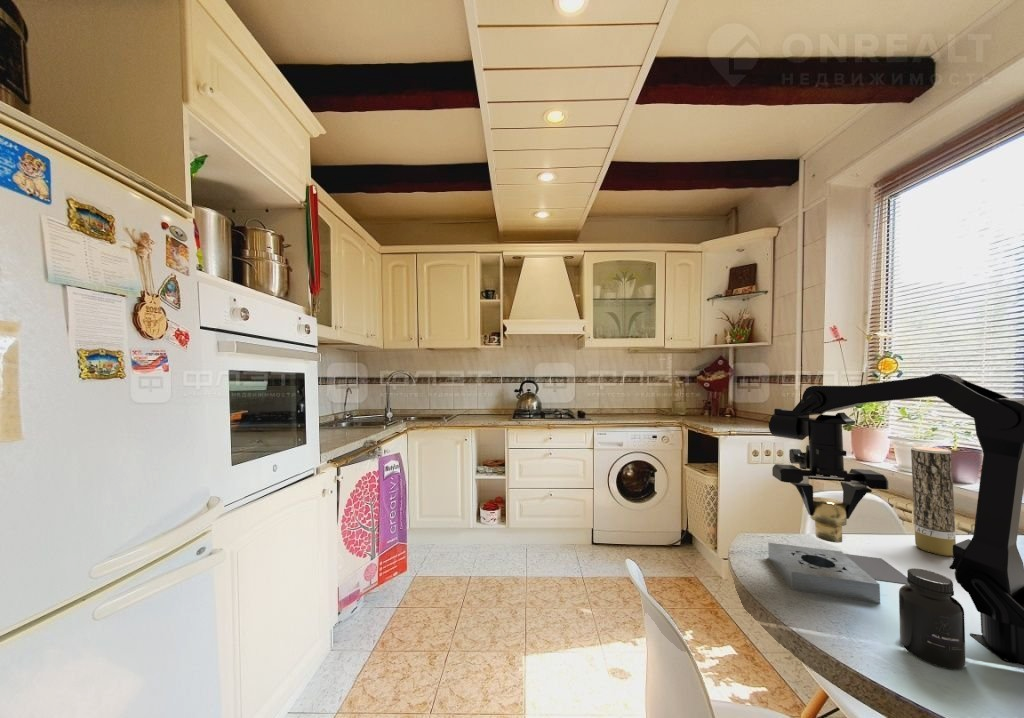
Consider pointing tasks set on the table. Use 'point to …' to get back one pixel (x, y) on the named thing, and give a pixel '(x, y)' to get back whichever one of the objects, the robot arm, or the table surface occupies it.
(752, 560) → the table surface
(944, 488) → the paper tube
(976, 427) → the robot arm
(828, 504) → the end cover
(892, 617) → the table surface
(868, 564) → the rubber mat
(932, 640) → the supplement bottle
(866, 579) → the housing
